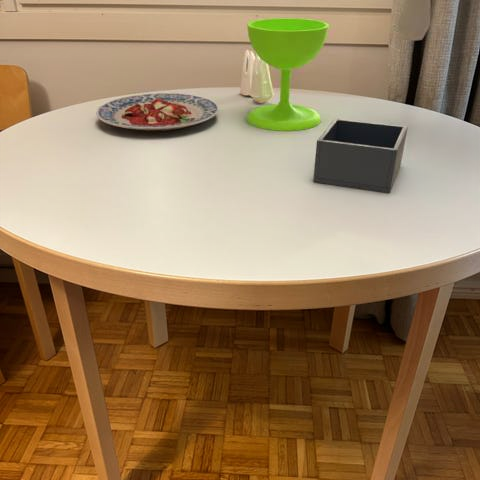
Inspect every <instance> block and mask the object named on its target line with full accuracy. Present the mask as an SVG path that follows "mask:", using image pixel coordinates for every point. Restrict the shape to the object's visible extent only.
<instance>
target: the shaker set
mask: <svg viewBox="0 0 480 480" xmlns="http://www.w3.org/2000/svg"><path fill="white" fill-rule="evenodd" d="M240 78H241V79H240V86H239V88H240V89H239V95H240V94H241V95H242V96H250V97H251V98H252V99H253V100H254V101H256V102H257V103H258V104H262V103H265V102H267V101H269V100H271V99H272V98H273V97H275V94H274V88H273V83H272V78H271V74H270V65H268V64H267V63H265V62H264V61H263V60H262V59H261V58H260V57H259V56H258V55H257V53H256V52H255V54H254V52H253V51H252V50H250V51H249V49H247V50H245V51H244V54H243V61H242V70H241V77H240Z"/></svg>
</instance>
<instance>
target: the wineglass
mask: <svg viewBox="0 0 480 480" xmlns="http://www.w3.org/2000/svg"><path fill="white" fill-rule="evenodd" d="M246 25H247V35H248V39H249V41H250V44H251V47H252V49H253V50H254V52H255V54H256V53H257V55H258V56H259V57H260V58H261V59H262V60H263V61H264V62H265V63H267V64H268V66H269V67H273V68H275V69H278V70H280V94H279V95H280V96H279V102H278V103H277V104H268V105H263V106H259V107H256V108H254V109H252V110H251V111H250V112H249V113H248V115H247V117H246V121H247V122H248V123H249V124H250V125H251V126H253V127H256V128H259V129H263V130H268V131H269V130H270V131H283V132H291V131H293V132H294V131H302V130H303V131H304V130H308V129H311V128H314V127H316V126H318V125H320V123H321V121H322V120H321V119H322V118H321V116H320V114H319V113H318V112H317V111H315V110H314V109H312V108H309V107H307V106H304V105H299V104H298V105H297V104H291V102H290V90H291V74H292V73H291V72H292V70H295V69H298V68H301V67H303V66H306V65H308V63H310V62H312V60H314V59H315V58H316V57H317V55H318V54H319V53H320V52H321V50H322V49H323V47H324V45H325V42H326V41H327V38H328V33H329V27H330V24H329V23H328V22H325V21H323V20H316V19H307V18H297V17H296V18H295V17H293V18H292V17H291V18H290V17H288V18H287V17H285V18H280V17H279V18H263V19H257V20H252V21H250V22H248V23H247V24H246Z"/></svg>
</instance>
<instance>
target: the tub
mask: <svg viewBox="0 0 480 480" xmlns="http://www.w3.org/2000/svg"><path fill="white" fill-rule="evenodd" d="M408 128H409V127H408V126H407V125H398V124H389V123H380V122H371V121H361V120H352V119H343V118H334V119H333V120H332V121H331V123H330V124H329V125H328V126H327V127H326V129H325V130H324V131H323V132H322V134H321V135H320V136H319V137H318V139H317V140H316V147H315V157H314V169H313V181H312V182H313V183H318V184H325V185H332V186H339V187H344V188H345V187H346V188H352V189H359V190H365V191H373V192H380V193H385V194H386V193H387V194H391V191H392V189H393V186H394V183H395V181H396V179H397V176H398V173H399V171H398V170H400V168H401V166H400V165H402V160H403V155H404V148H405V144H406V138H407V133H408Z"/></svg>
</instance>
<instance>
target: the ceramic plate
mask: <svg viewBox="0 0 480 480" xmlns="http://www.w3.org/2000/svg"><path fill="white" fill-rule="evenodd" d="M218 113H219V106H218V104H217V103H216V102H214V101H212V100H210V99H209V98H205V97H202V96H197V95H192V94H183V93H170V92H169V93H166V92H165V93H161V92H159V93H145V94H137V95H130V96H125V97H120V98H117V99H112V100H111V101H108V102H106V103H104V104H102V105H100V106H99V107H98V108H97V110H96V112H95V114H96V117H97V119H98V120H100V121H101V122H103V123H105V124H107V125H110V126H113V127H116V128H117V127H118V128H123V129H130V130H135V131H142V132H143V131H144V132H167V131H168V132H169V131H174V130H179V129H183V128H186V127H190V126H194V125H198V124H201V123H204V122H207V121H208V120H211V119H212V118H214V117H215V116H217V114H218Z"/></svg>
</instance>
